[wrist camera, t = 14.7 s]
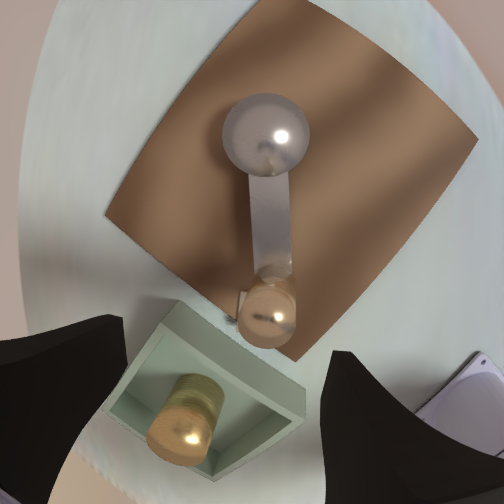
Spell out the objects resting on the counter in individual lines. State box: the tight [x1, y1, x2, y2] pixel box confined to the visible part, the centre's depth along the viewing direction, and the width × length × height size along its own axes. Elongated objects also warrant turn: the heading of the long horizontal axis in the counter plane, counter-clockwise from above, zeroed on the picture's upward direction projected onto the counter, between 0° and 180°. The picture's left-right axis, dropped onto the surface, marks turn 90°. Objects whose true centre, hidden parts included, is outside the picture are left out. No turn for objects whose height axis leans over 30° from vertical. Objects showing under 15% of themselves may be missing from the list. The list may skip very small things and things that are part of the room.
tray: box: [101, 301, 306, 482], centre depth 21 cm, size 11×11×4 cm
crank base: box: [105, 0, 479, 362], centre depth 18 cm, size 16×20×1 cm
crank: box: [222, 93, 310, 349], centre depth 15 cm, size 11×4×6 cm, turn 4°
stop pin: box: [146, 373, 225, 466], centre depth 20 cm, size 4×4×6 cm
